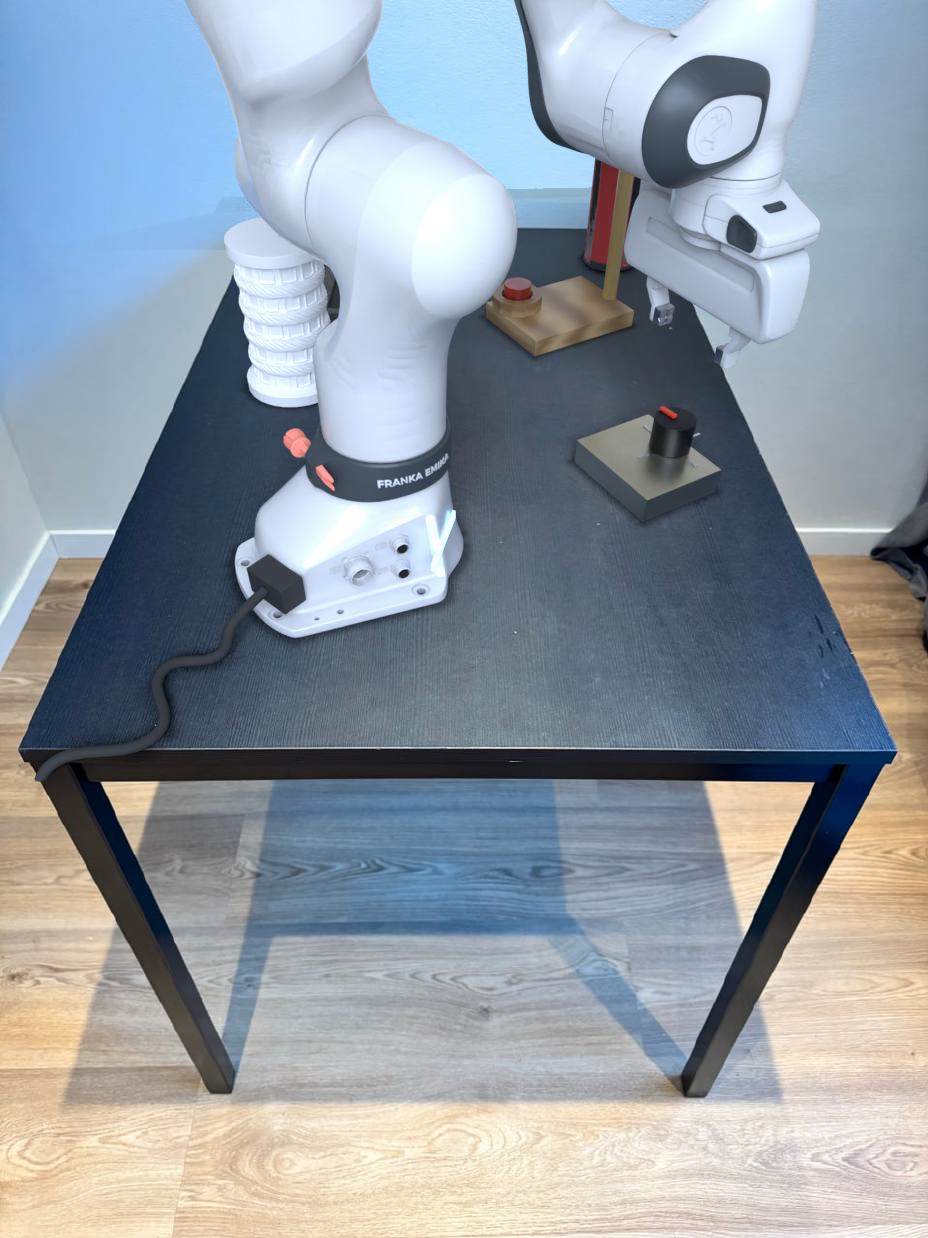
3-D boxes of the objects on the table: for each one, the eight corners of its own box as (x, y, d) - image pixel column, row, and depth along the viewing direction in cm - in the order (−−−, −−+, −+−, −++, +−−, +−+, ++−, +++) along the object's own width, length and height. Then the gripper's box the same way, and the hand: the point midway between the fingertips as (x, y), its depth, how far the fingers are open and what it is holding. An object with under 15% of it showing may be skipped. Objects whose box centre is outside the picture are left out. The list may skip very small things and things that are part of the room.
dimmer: (642, 522, 91) (647, 498, 88) (574, 462, 98) (577, 438, 95) (731, 485, 95) (738, 461, 93) (659, 430, 102) (664, 406, 100)
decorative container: (331, 410, 104) (313, 261, 91) (236, 403, 105) (205, 255, 92) (351, 360, 112) (338, 216, 99) (263, 353, 113) (238, 210, 100)
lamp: (602, 319, 112) (638, 52, 91) (561, 291, 117) (586, 32, 96) (657, 302, 115) (704, 41, 94) (615, 275, 120) (650, 22, 99)
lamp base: (533, 357, 113) (535, 328, 110) (482, 316, 120) (483, 288, 117) (632, 325, 119) (636, 297, 116) (578, 289, 126) (581, 262, 123)
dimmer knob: (698, 448, 95) (706, 418, 92) (669, 462, 93) (676, 432, 90) (669, 429, 97) (675, 399, 94) (640, 442, 95) (646, 412, 92)
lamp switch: (513, 304, 115) (513, 292, 114) (498, 293, 117) (498, 280, 116) (535, 298, 117) (536, 285, 115) (520, 287, 119) (521, 274, 117)
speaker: (611, 279, 128) (629, 146, 115) (572, 261, 132) (585, 131, 119) (644, 263, 132) (665, 133, 119) (604, 246, 136) (621, 119, 123)
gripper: (619, 164, 81) (601, 306, 91) (781, 248, 69) (739, 400, 79) (672, 152, 83) (648, 292, 93) (837, 231, 71) (789, 381, 81)
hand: (691, 342), depth 86 cm, fingers open, 8 cm apart
